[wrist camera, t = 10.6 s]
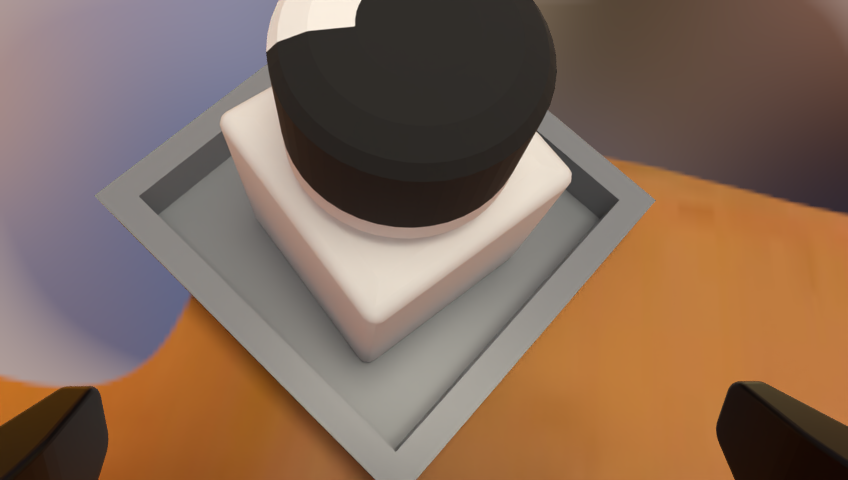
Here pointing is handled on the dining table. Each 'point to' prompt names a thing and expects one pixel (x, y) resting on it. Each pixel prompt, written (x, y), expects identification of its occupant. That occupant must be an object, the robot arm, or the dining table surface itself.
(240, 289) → the slate tray
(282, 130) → the medicine bottle
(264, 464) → the dining table surface
